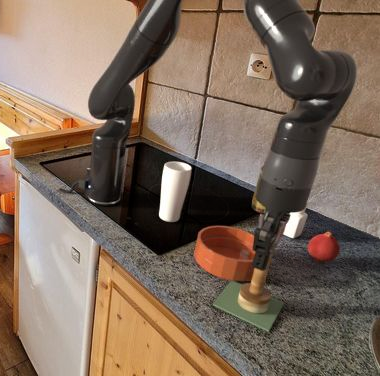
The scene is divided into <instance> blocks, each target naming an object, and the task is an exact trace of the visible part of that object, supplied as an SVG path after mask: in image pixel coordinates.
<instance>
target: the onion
mask: <svg viewBox="0 0 380 376" xmlns="http://www.w3.org/2000/svg"><path fill="white" fill-rule="evenodd" d="M307 250H308V254H309V255H310V256H311V258H312V259H313V260H314V262H316V263H317V264H323V263H324V264H325V263H329V262H333V261H334V260H336V259H337V258H338V256H339V254H340V251H341V247H340V244H339V241H338V240H337V239H336V238H335V236H333V234H332V232H330V231H326V232H325V233H319V234H317V235H315V236H313V237H312V238H311V239H310V240H309V242H308V245H307Z"/></svg>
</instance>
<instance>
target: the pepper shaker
mask: <svg viewBox="0 0 380 376" xmlns="http://www.w3.org/2000/svg"><path fill="white" fill-rule="evenodd" d="M308 204H309V201H307V204H306V207H305V208H304V210H302V211H300V212H296V213H290V214H291V216H290V220H289V221H288V223H287V224H286V227H285V231H284V233H283V235H284V236H286V237H288V238H291V239H295V238H298V237H300V236H301V235H302V233H303V230H304V228H305V225H306V221H307V218H308V216H309V215H308V214H307V212H305V211H306V210H307V207H308Z"/></svg>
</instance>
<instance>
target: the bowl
mask: <svg viewBox="0 0 380 376" xmlns="http://www.w3.org/2000/svg"><path fill="white" fill-rule="evenodd" d="M253 242H254V234H253V233H252V232H250V231H247V230H243V229H241V228H238V227H234V226H233V227H232V226H228V225H211V226H207V227H204V228H202V229H201V230H200V231H199V232H198V233H197V238H196V243H195V248H194V252H193V257H194V259H195V262H196V263H197V264H198V265H199V267H201V268H202V269H203V270H205V271H206V272H207V273H209V274H210V275H213V276H214V277H216V278H219V279H223V280H226V281H230V282H231V280H233V281H235V282H251V281H252V277H253V273H254V269H255V268H254V267H252V262H253V259H254V255H255V252H256V251H253Z"/></svg>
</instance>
